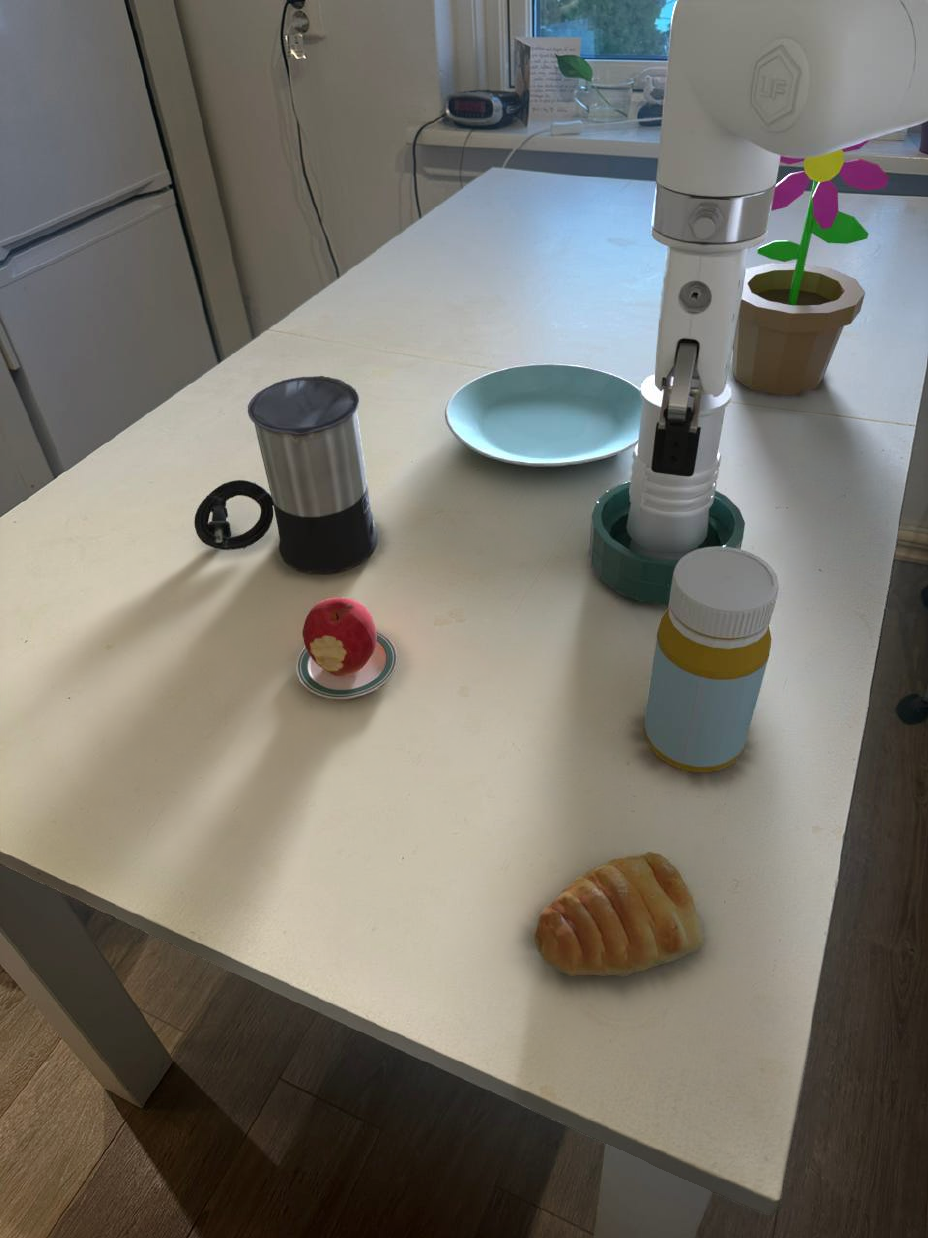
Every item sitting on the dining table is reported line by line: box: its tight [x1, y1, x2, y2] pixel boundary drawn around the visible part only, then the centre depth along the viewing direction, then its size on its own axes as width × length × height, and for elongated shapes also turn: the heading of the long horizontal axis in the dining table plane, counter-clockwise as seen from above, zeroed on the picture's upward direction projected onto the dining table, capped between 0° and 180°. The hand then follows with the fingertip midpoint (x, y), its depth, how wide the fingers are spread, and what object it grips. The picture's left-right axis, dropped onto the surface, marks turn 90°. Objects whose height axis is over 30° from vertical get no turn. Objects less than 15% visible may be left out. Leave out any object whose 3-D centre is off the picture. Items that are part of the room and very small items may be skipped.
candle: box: [626, 373, 733, 559], centre depth 71 cm, size 7×7×15 cm
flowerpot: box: [731, 139, 890, 395], centre depth 92 cm, size 14×14×30 cm
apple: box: [295, 597, 398, 700], centre depth 67 cm, size 8×8×6 cm
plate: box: [444, 363, 642, 468], centre depth 94 cm, size 22×22×3 cm
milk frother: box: [193, 375, 379, 575], centre depth 77 cm, size 14×16×15 cm
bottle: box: [643, 546, 780, 773], centre depth 57 cm, size 7×7×15 cm
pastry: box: [534, 851, 704, 977], centre depth 51 cm, size 9×7×4 cm
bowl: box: [588, 480, 746, 606], centre depth 75 cm, size 13×13×5 cm
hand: (678, 447), depth 69 cm, fingers closed on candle, 6 cm apart
